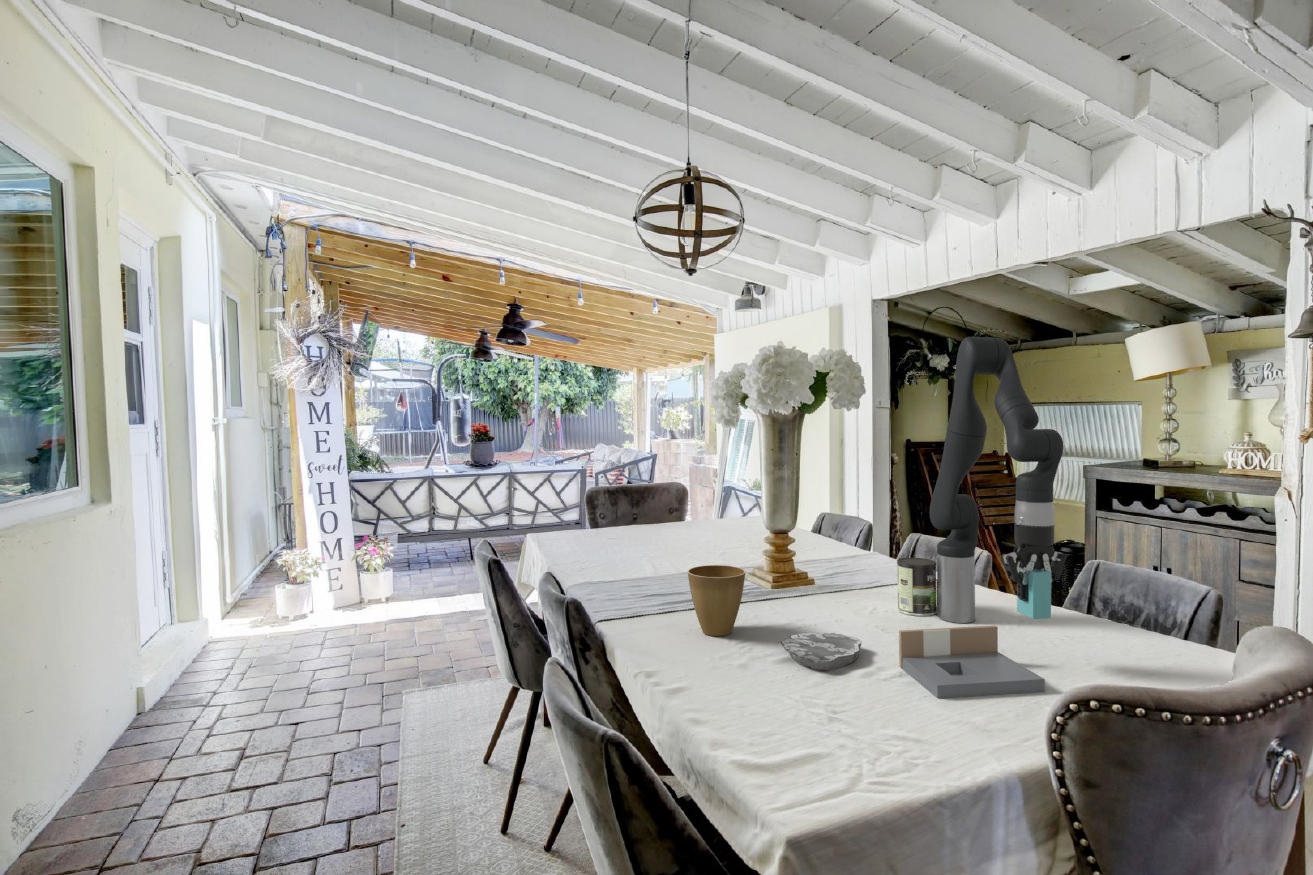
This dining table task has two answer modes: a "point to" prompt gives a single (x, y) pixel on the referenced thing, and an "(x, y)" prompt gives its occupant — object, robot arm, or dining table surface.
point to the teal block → (1037, 596)
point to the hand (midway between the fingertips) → (1033, 599)
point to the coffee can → (916, 586)
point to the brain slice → (822, 650)
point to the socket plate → (963, 663)
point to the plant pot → (716, 596)
